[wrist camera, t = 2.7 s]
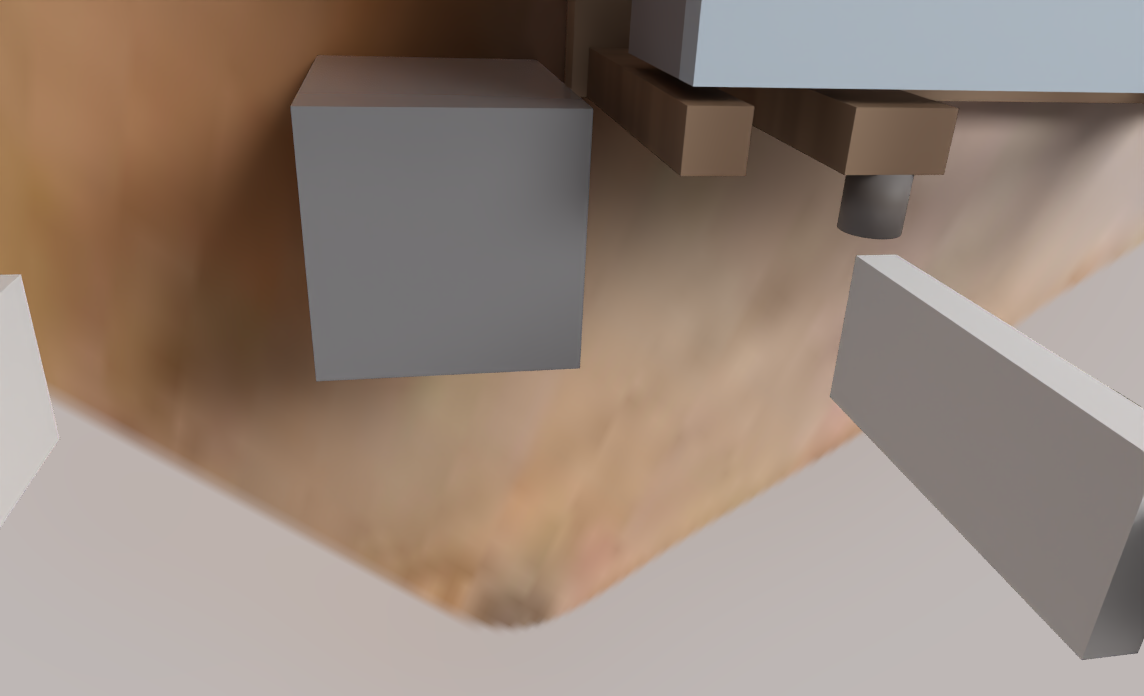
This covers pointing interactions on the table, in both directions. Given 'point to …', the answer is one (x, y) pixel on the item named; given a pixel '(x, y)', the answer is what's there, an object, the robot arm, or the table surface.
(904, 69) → the trapdoor
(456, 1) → the table surface
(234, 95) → the table surface
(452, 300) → the block
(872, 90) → the frame
